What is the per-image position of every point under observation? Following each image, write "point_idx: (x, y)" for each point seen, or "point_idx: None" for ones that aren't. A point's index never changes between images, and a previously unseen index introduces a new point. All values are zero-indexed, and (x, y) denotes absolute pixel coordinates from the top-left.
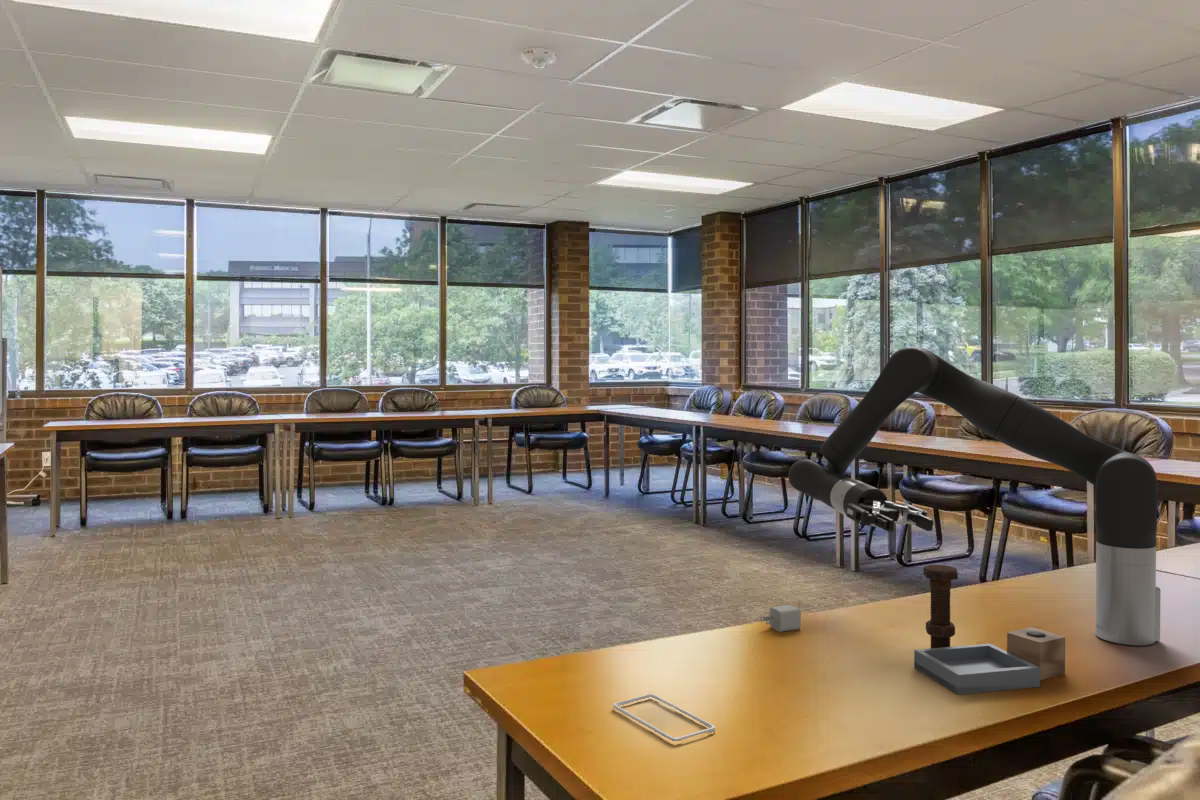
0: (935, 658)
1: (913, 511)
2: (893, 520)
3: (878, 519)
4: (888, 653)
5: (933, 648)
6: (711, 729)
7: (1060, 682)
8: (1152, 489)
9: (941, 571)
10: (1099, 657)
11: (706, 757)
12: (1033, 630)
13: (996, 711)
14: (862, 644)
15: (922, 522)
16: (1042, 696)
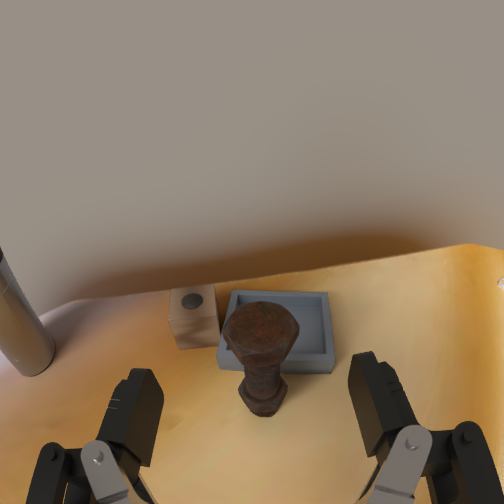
0: (325, 331)
1: (106, 474)
2: (356, 354)
3: (406, 405)
4: (335, 427)
5: (306, 359)
6: (500, 280)
7: None
8: None
9: (278, 305)
10: (104, 335)
11: (493, 265)
12: (179, 311)
13: (313, 278)
14: (354, 469)
15: (147, 418)
16: (251, 290)
